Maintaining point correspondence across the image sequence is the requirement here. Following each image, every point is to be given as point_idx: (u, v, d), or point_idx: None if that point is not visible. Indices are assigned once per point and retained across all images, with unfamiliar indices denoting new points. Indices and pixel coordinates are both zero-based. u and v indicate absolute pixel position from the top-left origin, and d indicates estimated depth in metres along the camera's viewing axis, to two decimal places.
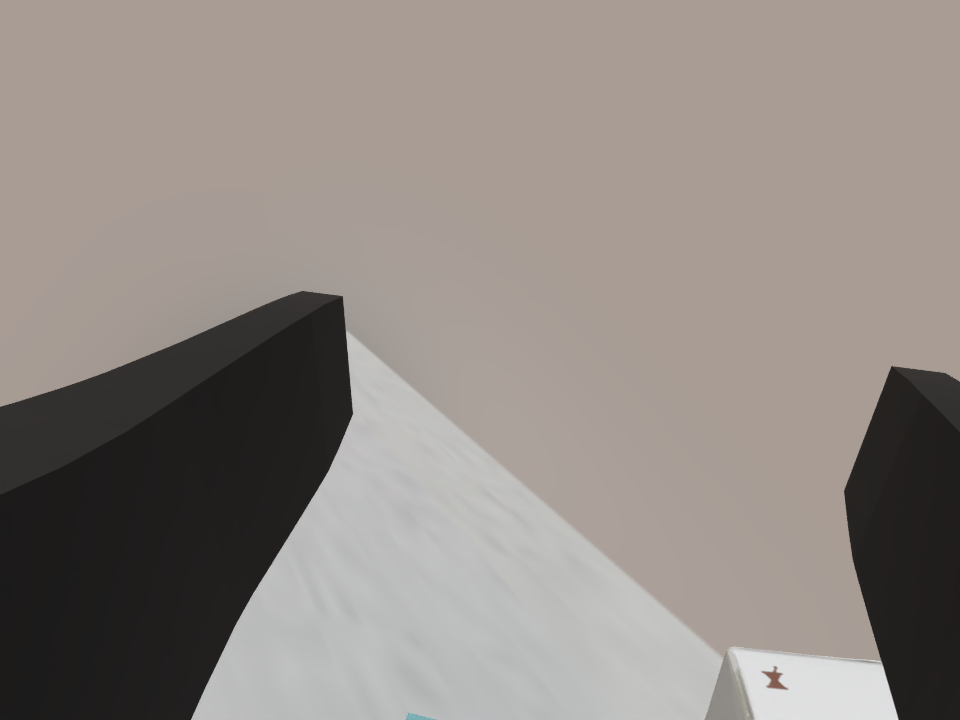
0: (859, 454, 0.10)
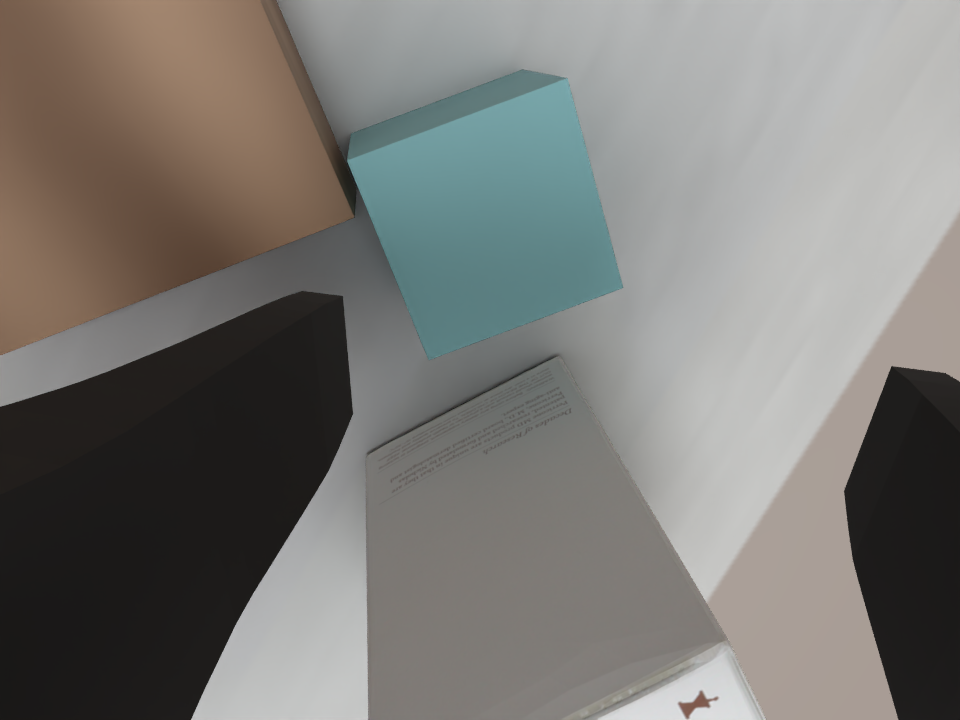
0: (859, 454, 0.10)
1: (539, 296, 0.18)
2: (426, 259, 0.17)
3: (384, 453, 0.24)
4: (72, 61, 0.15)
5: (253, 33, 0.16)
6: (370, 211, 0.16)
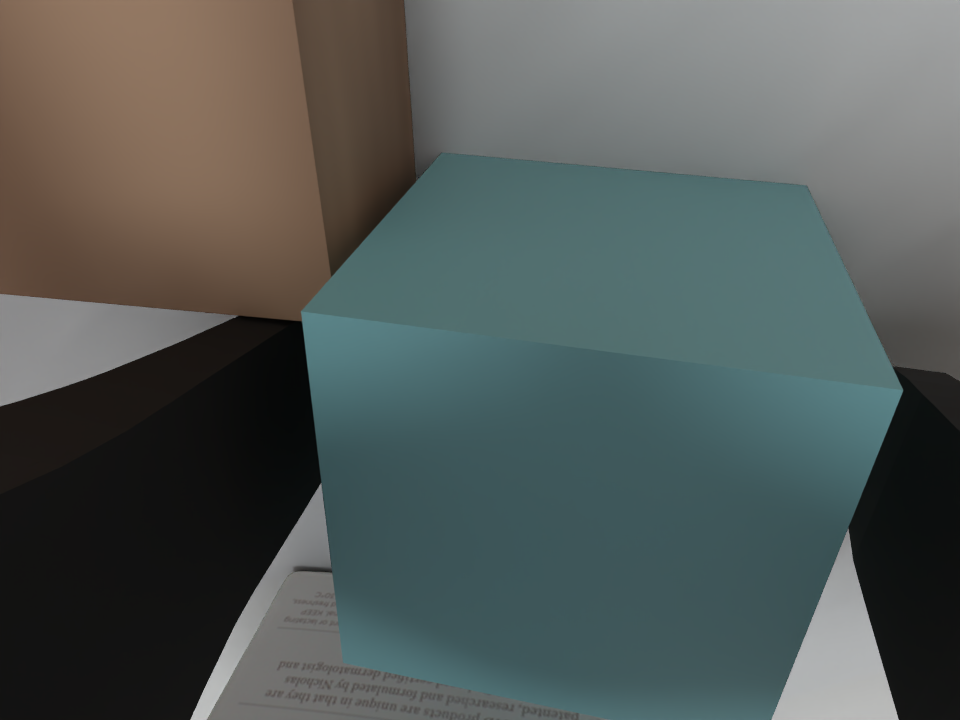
0: None
1: (588, 686, 0.08)
2: (401, 540, 0.08)
3: (308, 592, 0.16)
4: None
5: None
6: (319, 417, 0.07)
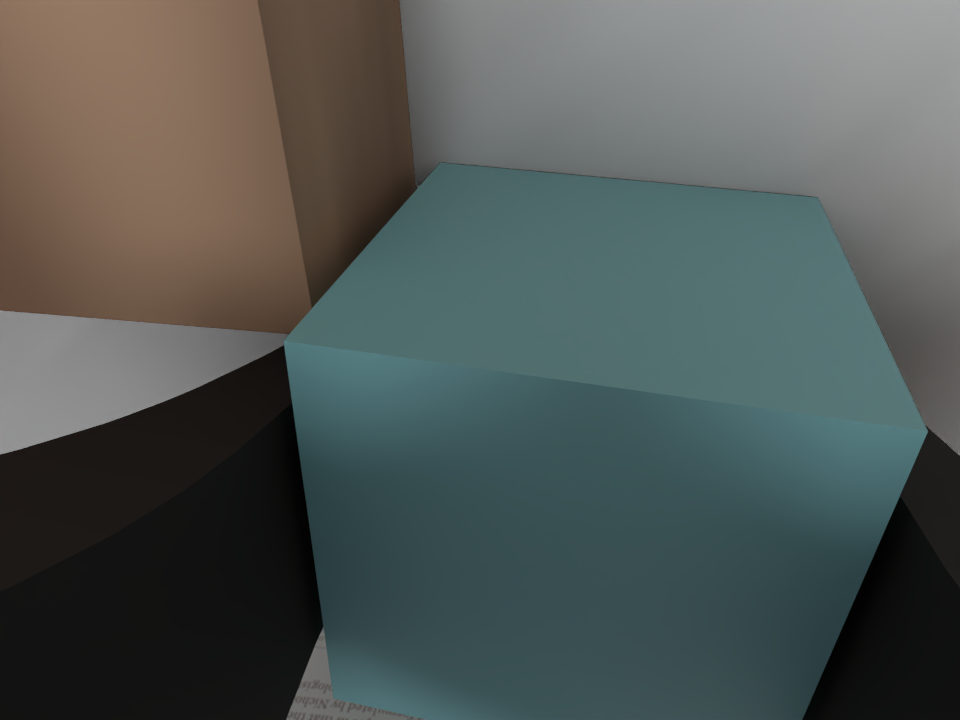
0: None
1: None
2: (391, 576, 0.07)
3: None
4: None
5: None
6: (305, 449, 0.07)
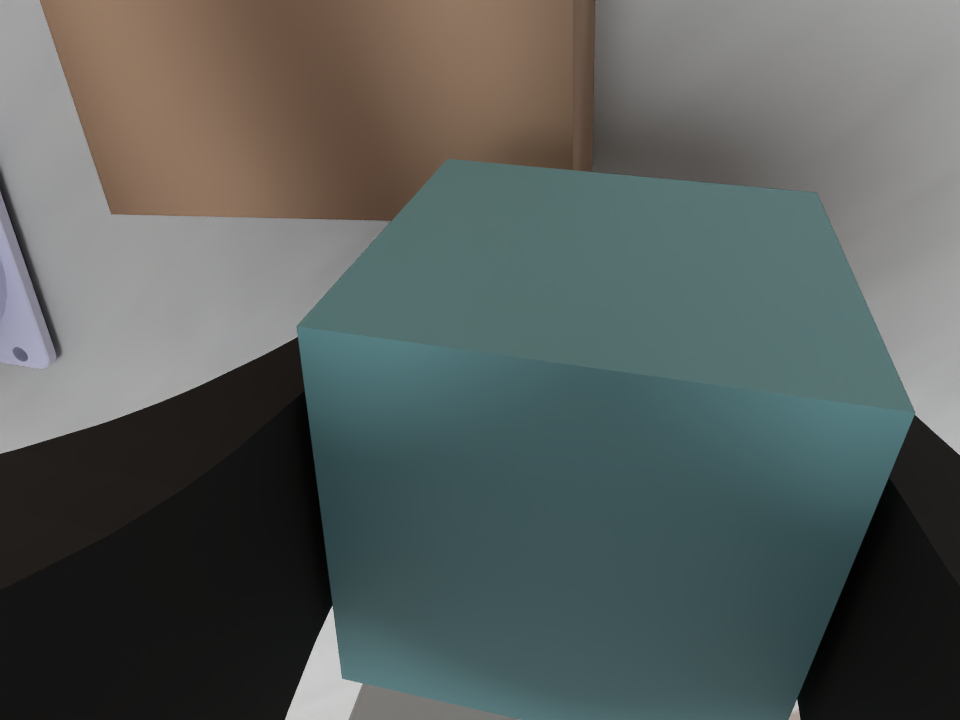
0: None
1: (591, 706, 0.08)
2: (399, 557, 0.08)
3: None
4: None
5: None
6: (316, 432, 0.07)
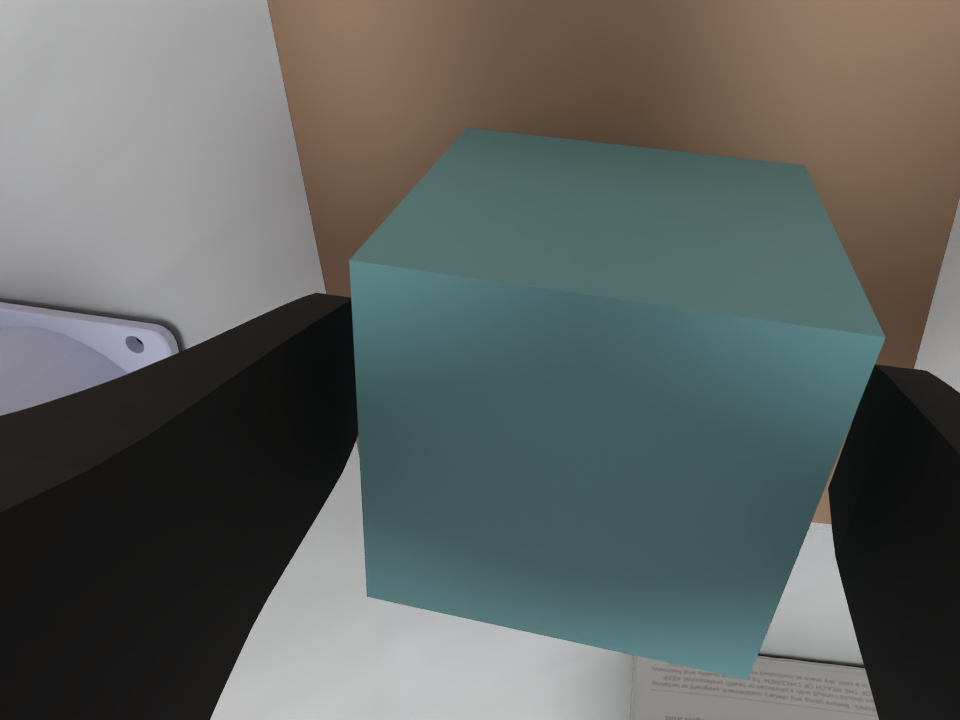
0: (842, 452, 0.10)
1: (594, 617, 0.09)
2: (427, 477, 0.09)
3: (661, 662, 0.21)
4: None
5: (897, 317, 0.12)
6: (360, 360, 0.08)
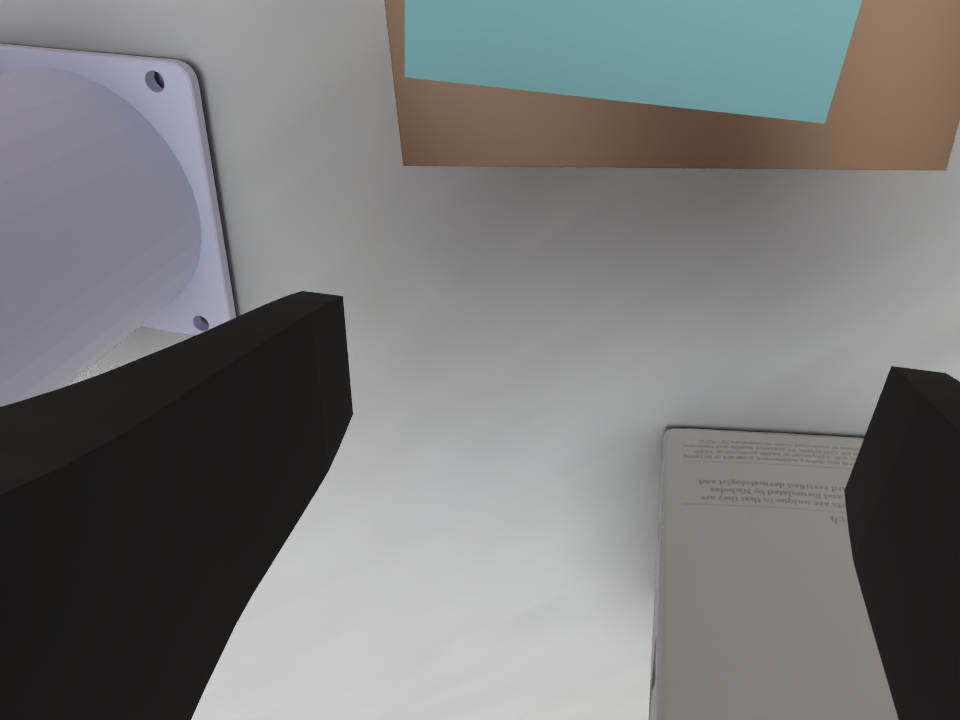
0: (859, 454, 0.10)
1: (657, 55, 0.08)
2: None
3: (692, 440, 0.21)
4: None
5: None
6: None
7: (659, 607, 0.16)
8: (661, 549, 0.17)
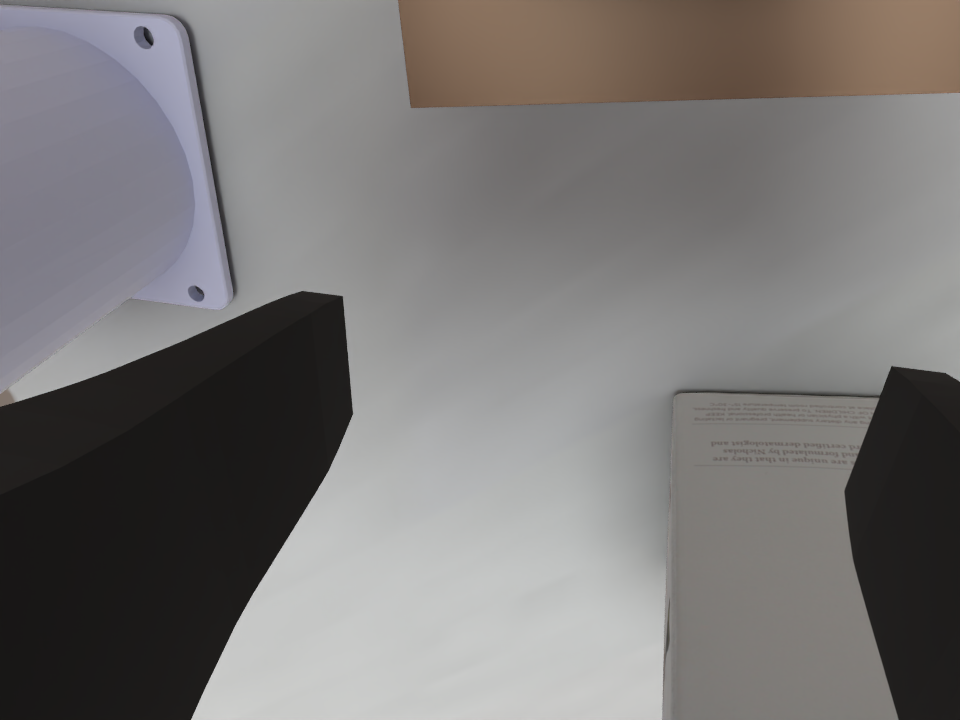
0: (859, 454, 0.10)
1: None
2: None
3: (702, 403, 0.20)
4: None
5: None
6: None
7: (672, 567, 0.15)
8: (673, 510, 0.17)
